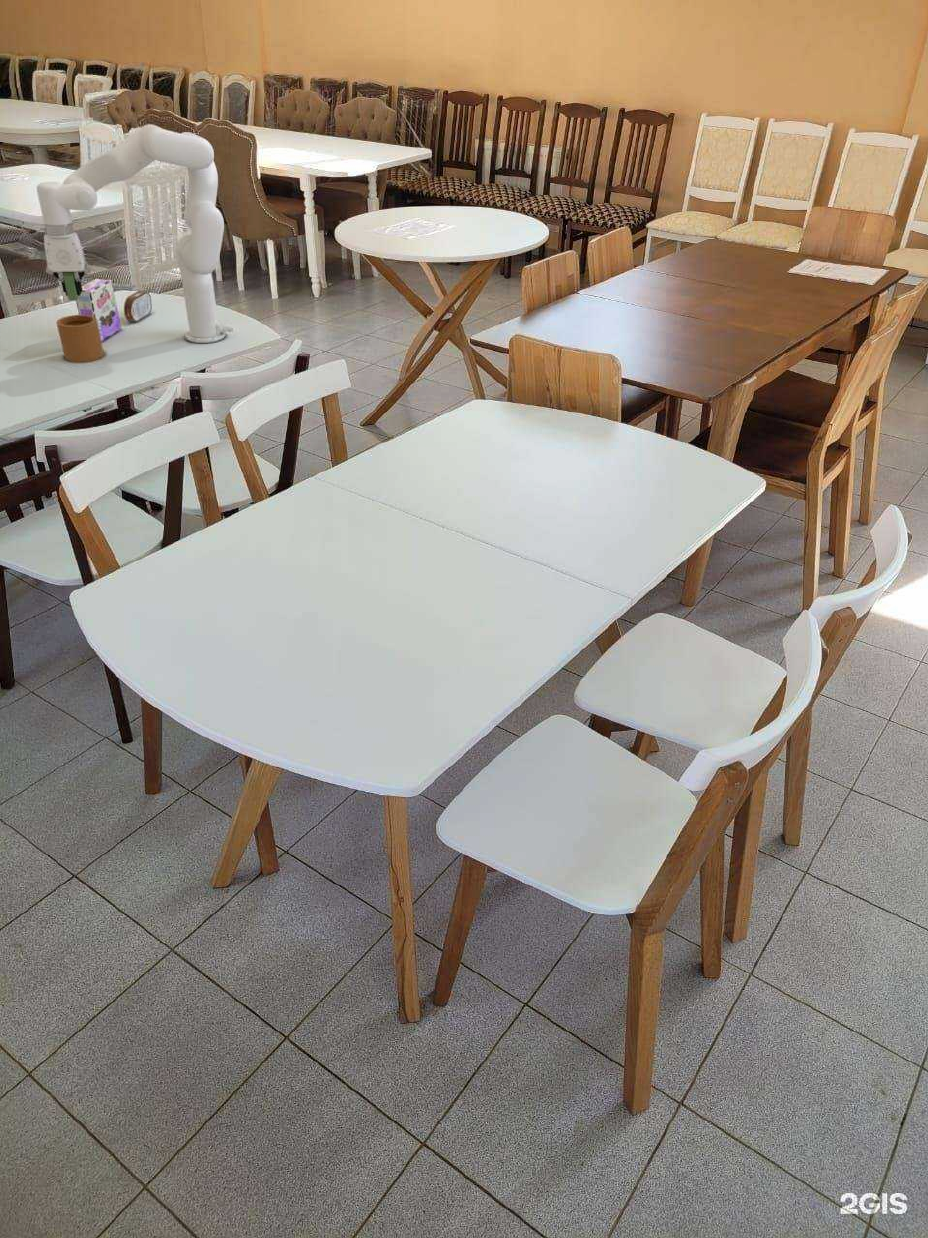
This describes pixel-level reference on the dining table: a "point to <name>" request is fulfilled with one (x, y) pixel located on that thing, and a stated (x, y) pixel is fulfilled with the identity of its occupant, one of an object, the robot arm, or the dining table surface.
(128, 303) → the tin
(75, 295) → the block
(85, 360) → the jar
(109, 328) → the candy box
